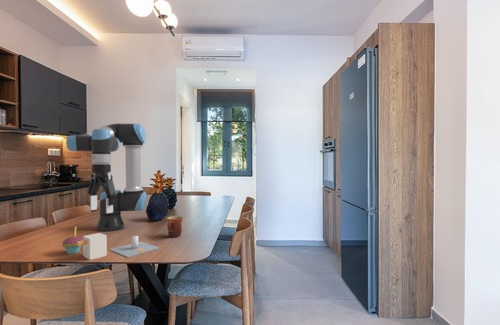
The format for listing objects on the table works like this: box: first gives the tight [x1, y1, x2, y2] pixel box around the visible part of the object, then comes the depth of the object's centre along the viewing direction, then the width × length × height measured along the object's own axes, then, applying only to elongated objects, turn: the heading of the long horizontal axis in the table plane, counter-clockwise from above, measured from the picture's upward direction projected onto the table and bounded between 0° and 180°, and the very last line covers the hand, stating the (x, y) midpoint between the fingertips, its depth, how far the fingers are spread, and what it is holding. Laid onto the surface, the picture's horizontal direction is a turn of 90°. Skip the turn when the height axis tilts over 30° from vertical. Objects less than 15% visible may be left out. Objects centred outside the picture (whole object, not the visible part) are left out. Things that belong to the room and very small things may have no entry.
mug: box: [166, 215, 184, 238], centre depth 157 cm, size 12×9×10 cm
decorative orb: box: [145, 199, 168, 222], centre depth 200 cm, size 14×15×15 cm
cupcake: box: [61, 225, 83, 255], centre depth 131 cm, size 9×8×12 cm
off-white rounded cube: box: [77, 232, 108, 261], centre depth 124 cm, size 10×7×9 cm, turn 141°
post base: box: [109, 235, 160, 258], centre depth 135 cm, size 16×16×6 cm
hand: (101, 211), depth 127 cm, fingers open, 13 cm apart
